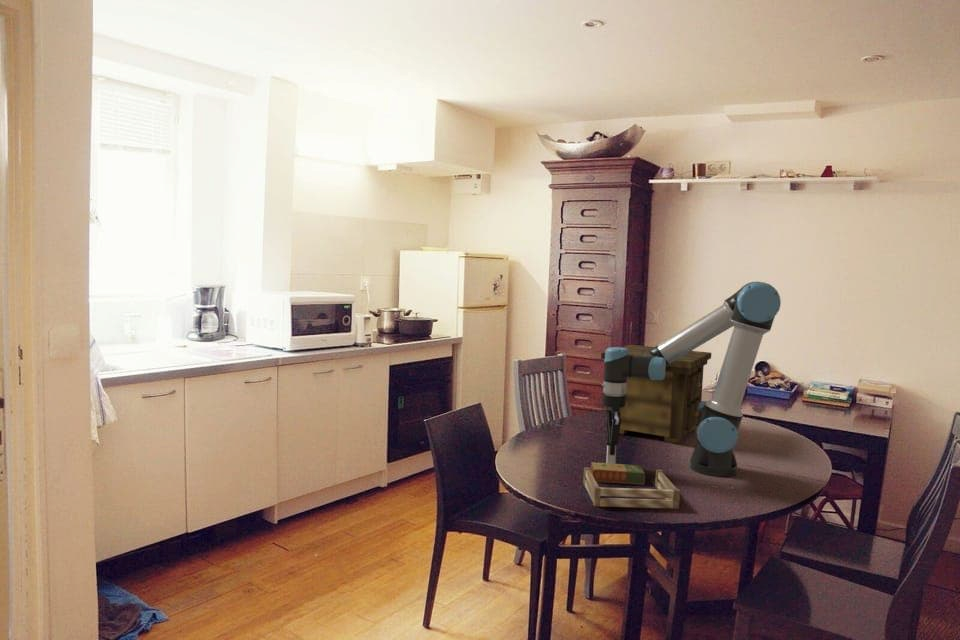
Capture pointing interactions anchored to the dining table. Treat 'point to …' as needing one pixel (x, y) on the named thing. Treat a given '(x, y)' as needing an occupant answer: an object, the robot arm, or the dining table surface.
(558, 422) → the dining table surface
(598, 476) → the carton
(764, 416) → the dining table surface
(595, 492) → the slatted wooden tray
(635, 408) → the crate
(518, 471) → the dining table surface
